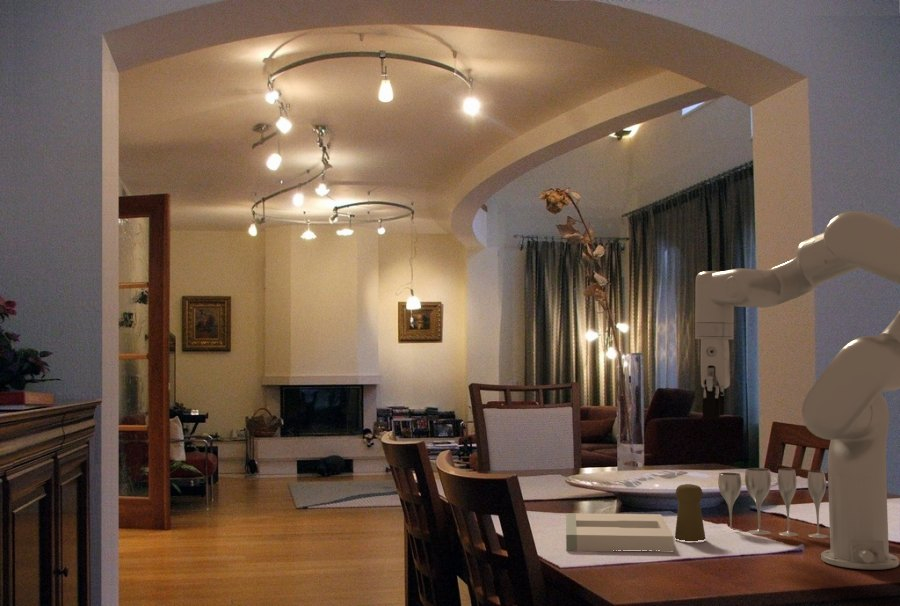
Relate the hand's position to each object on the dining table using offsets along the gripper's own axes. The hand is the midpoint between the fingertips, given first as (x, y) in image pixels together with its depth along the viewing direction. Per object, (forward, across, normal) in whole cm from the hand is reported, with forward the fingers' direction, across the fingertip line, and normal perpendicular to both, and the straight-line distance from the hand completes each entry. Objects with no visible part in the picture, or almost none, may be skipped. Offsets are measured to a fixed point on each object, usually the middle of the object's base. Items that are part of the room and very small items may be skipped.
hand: (713, 416), depth 189 cm
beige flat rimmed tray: (+25, -7, +18) cm, 32 cm away
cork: (+25, -4, +4) cm, 25 cm away
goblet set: (+24, +9, -14) cm, 30 cm away
